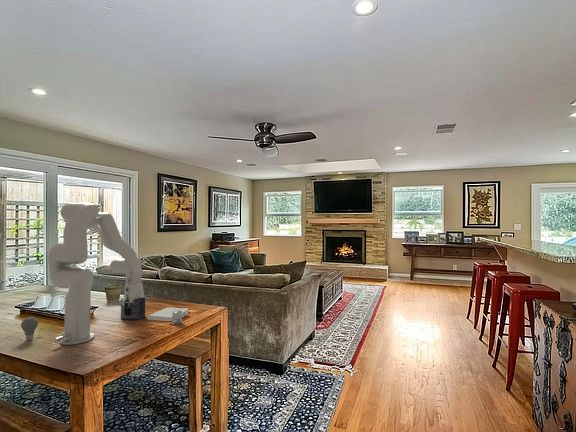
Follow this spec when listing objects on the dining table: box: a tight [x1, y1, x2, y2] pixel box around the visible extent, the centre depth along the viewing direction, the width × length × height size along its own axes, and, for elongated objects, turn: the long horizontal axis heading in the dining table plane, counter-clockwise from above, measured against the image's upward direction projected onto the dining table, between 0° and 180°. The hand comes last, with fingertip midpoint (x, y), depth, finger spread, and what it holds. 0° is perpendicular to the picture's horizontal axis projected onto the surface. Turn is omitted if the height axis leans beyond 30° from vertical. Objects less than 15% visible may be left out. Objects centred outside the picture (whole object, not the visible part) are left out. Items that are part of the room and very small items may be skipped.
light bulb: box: [20, 316, 39, 341], centre depth 142 cm, size 6×6×10 cm
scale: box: [146, 306, 190, 322], centre depth 178 cm, size 18×17×3 cm
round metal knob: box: [172, 311, 183, 326], centre depth 165 cm, size 4×4×6 cm
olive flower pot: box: [104, 283, 123, 304], centre depth 211 cm, size 13×10×10 cm
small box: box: [120, 297, 146, 321], centre depth 174 cm, size 11×6×10 cm, turn 84°
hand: (133, 312), depth 174 cm, fingers open, 8 cm apart
